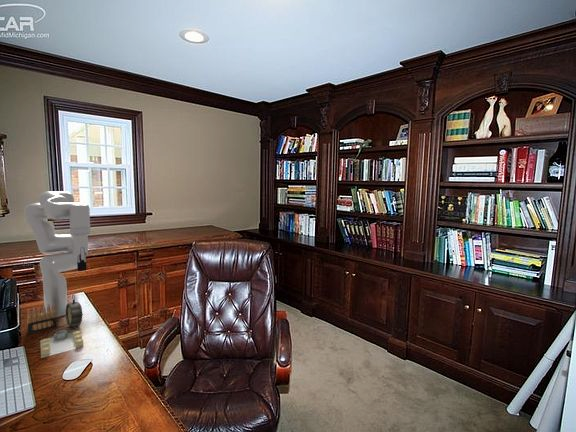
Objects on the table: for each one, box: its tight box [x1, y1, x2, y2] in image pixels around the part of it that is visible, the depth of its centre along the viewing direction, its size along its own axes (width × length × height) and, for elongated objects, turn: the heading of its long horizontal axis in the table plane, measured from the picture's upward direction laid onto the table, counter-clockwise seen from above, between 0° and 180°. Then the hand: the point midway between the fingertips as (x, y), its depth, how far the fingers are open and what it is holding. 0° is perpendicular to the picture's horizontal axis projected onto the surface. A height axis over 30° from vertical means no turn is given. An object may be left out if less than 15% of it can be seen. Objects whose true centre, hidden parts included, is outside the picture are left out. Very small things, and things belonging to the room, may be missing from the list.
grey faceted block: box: [53, 329, 69, 341], centre depth 132 cm, size 4×5×2 cm
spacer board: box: [40, 330, 85, 359], centre depth 128 cm, size 17×14×3 cm
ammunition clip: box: [26, 303, 58, 335], centre depth 139 cm, size 11×2×12 cm, turn 135°
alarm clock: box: [65, 293, 84, 331], centre depth 143 cm, size 11×5×16 cm, turn 48°
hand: (82, 270), depth 137 cm, fingers closed
